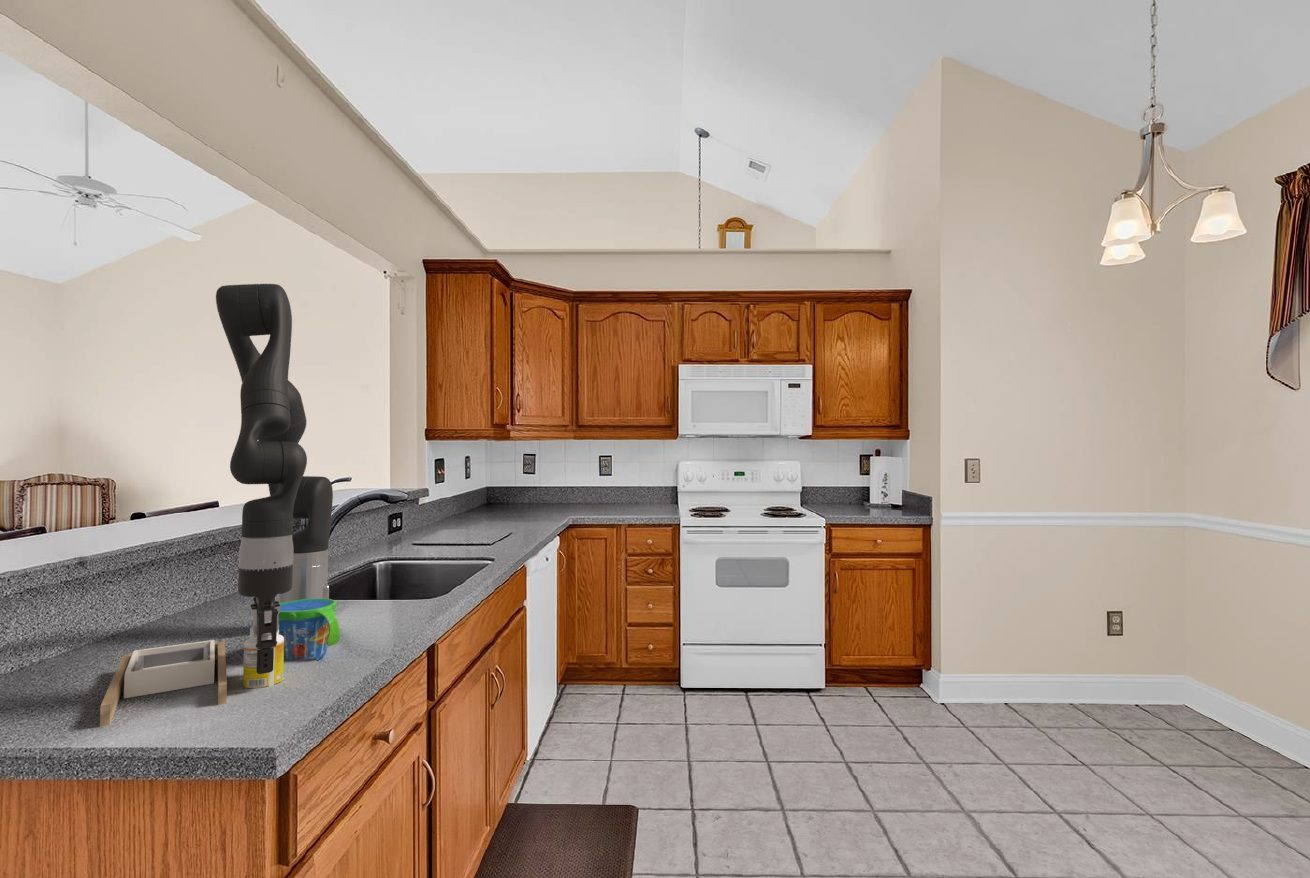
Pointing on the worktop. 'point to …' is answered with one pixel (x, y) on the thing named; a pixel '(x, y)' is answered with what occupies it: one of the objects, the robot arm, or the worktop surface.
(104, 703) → the bay
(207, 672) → the box
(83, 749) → the worktop surface
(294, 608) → the snack cup
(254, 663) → the supplement bottle
